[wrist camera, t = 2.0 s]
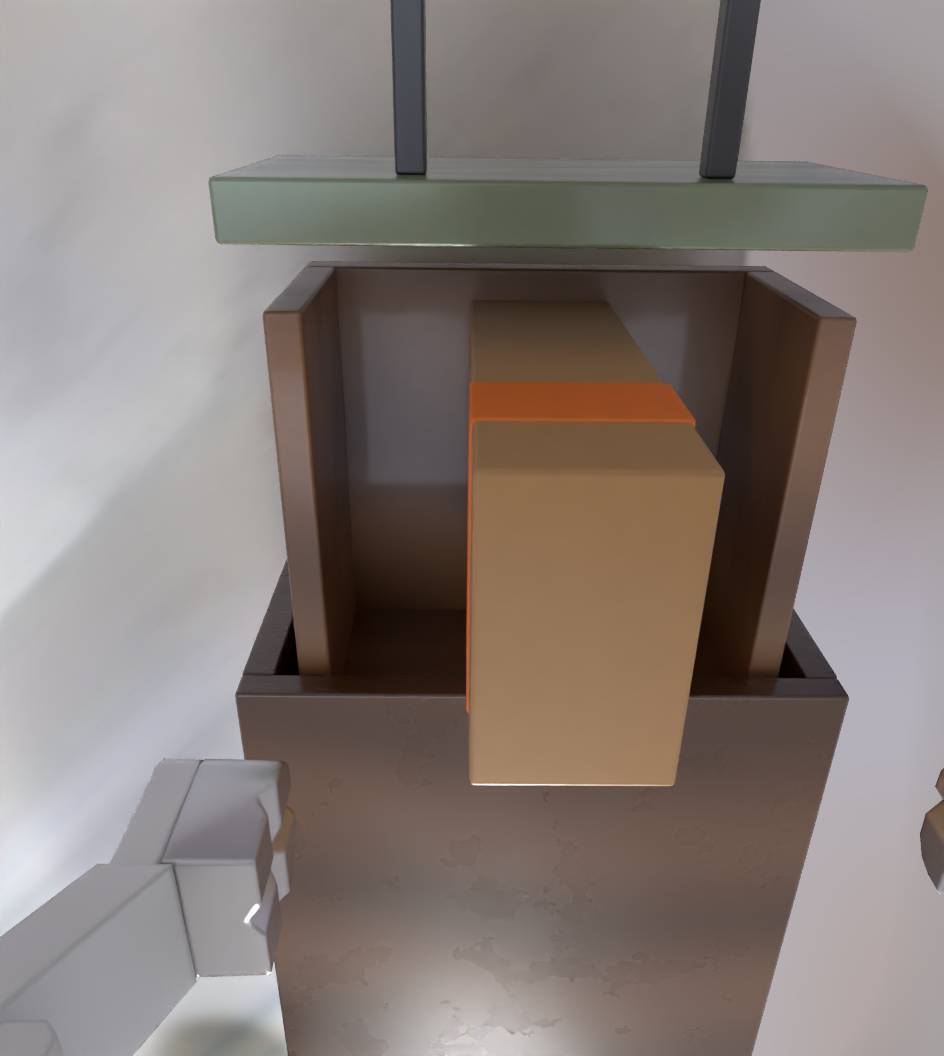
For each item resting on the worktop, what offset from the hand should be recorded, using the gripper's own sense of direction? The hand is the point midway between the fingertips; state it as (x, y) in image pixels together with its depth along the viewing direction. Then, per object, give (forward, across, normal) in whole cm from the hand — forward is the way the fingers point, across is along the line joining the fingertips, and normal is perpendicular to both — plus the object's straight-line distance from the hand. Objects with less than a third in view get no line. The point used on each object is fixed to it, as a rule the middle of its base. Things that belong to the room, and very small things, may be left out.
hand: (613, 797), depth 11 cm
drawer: (+15, 0, -2) cm, 15 cm away
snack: (+14, 0, 0) cm, 14 cm away
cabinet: (+16, 0, +12) cm, 20 cm away
